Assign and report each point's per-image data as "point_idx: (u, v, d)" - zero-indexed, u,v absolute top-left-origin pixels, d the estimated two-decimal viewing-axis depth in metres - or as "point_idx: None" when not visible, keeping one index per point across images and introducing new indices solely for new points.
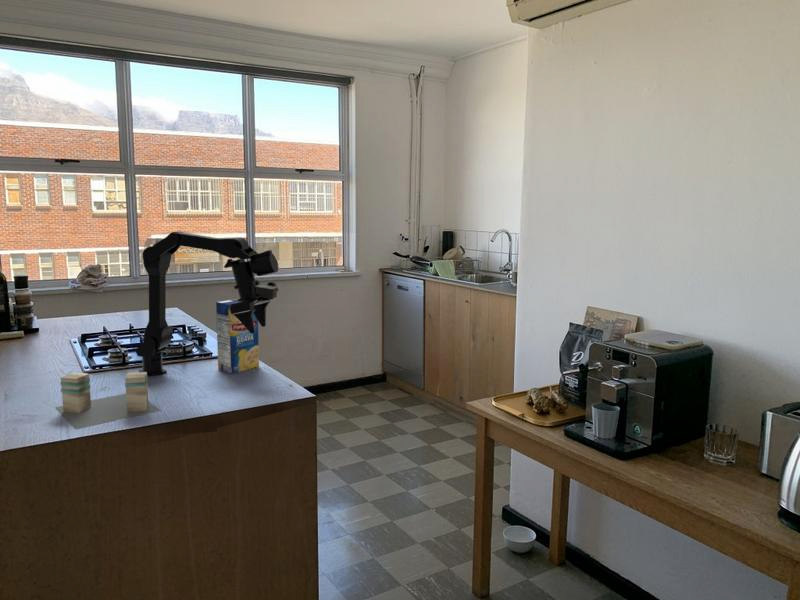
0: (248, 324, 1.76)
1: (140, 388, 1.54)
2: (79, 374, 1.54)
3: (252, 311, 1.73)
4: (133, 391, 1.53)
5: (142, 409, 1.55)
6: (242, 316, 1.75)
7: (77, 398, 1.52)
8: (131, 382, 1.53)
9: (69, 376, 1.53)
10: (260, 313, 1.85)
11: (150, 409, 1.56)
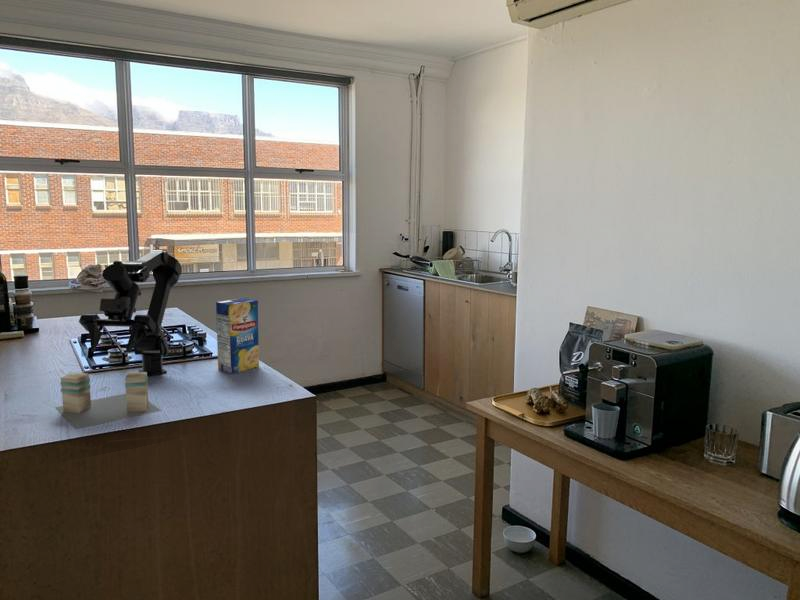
0: None
1: (140, 388, 1.54)
2: (79, 374, 1.54)
3: (85, 324, 1.61)
4: (133, 391, 1.53)
5: (142, 409, 1.55)
6: None
7: (77, 398, 1.52)
8: (131, 382, 1.53)
9: (69, 376, 1.53)
10: None
11: (150, 409, 1.56)
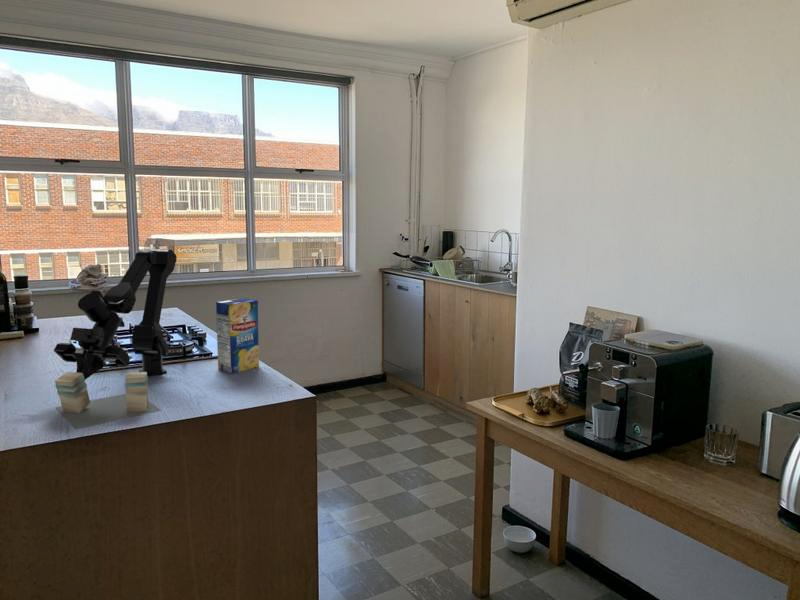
0: None
1: (140, 388, 1.54)
2: (73, 375, 1.52)
3: (73, 354, 1.57)
4: (133, 391, 1.53)
5: (142, 409, 1.55)
6: None
7: (75, 400, 1.51)
8: (131, 382, 1.53)
9: (63, 378, 1.51)
10: None
11: (150, 409, 1.56)
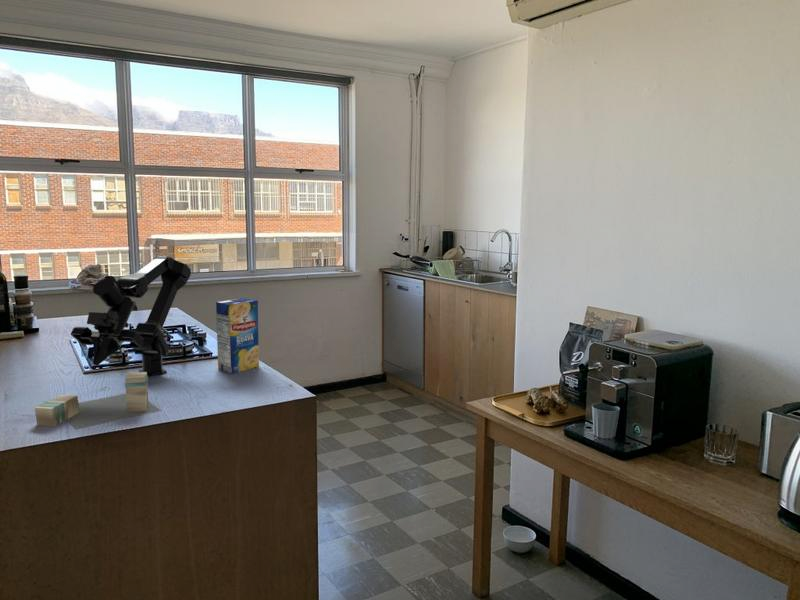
0: None
1: (140, 388, 1.54)
2: (46, 413, 1.43)
3: (89, 337, 1.63)
4: (133, 391, 1.53)
5: (142, 409, 1.55)
6: None
7: None
8: (131, 382, 1.53)
9: (41, 421, 1.44)
10: None
11: (150, 409, 1.56)
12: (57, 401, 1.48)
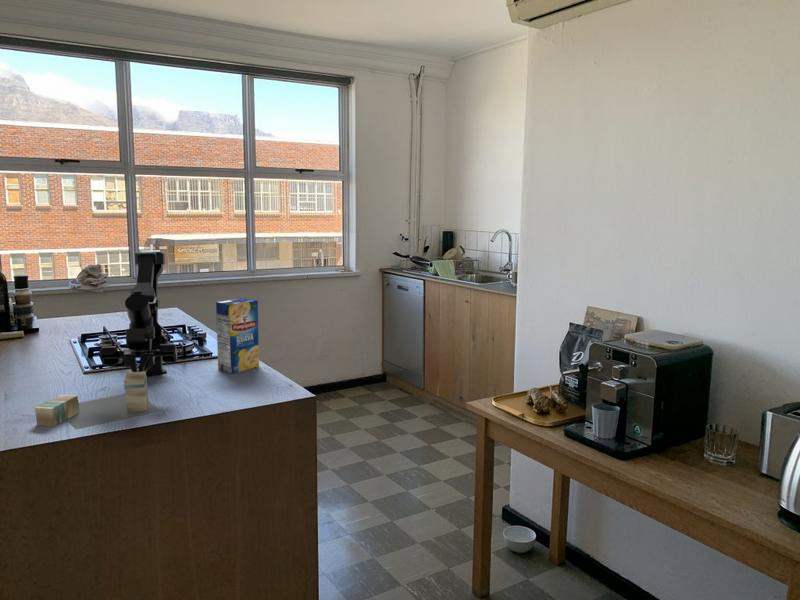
0: None
1: (139, 390, 1.53)
2: (46, 413, 1.43)
3: (125, 355, 1.57)
4: (132, 393, 1.52)
5: (142, 409, 1.55)
6: None
7: None
8: (130, 384, 1.52)
9: (41, 421, 1.44)
10: None
11: (150, 409, 1.56)
12: (57, 401, 1.48)
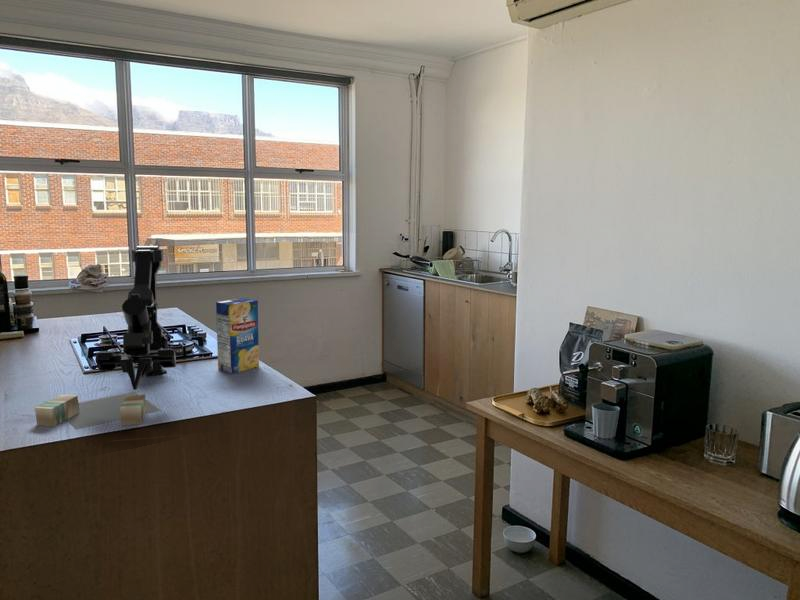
0: None
1: None
2: (46, 413, 1.43)
3: (122, 361, 1.53)
4: None
5: None
6: None
7: None
8: None
9: (41, 421, 1.44)
10: None
11: (150, 409, 1.56)
12: (57, 401, 1.48)
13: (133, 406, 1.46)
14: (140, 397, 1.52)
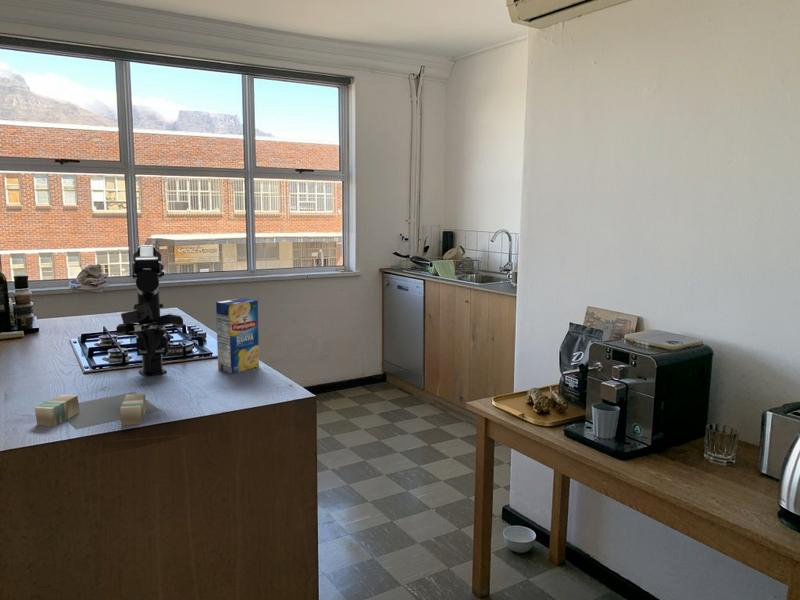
0: None
1: None
2: (46, 413, 1.43)
3: (134, 333, 1.66)
4: None
5: None
6: None
7: None
8: None
9: (41, 421, 1.44)
10: None
11: (150, 409, 1.56)
12: (57, 401, 1.48)
13: (133, 406, 1.46)
14: (140, 397, 1.52)
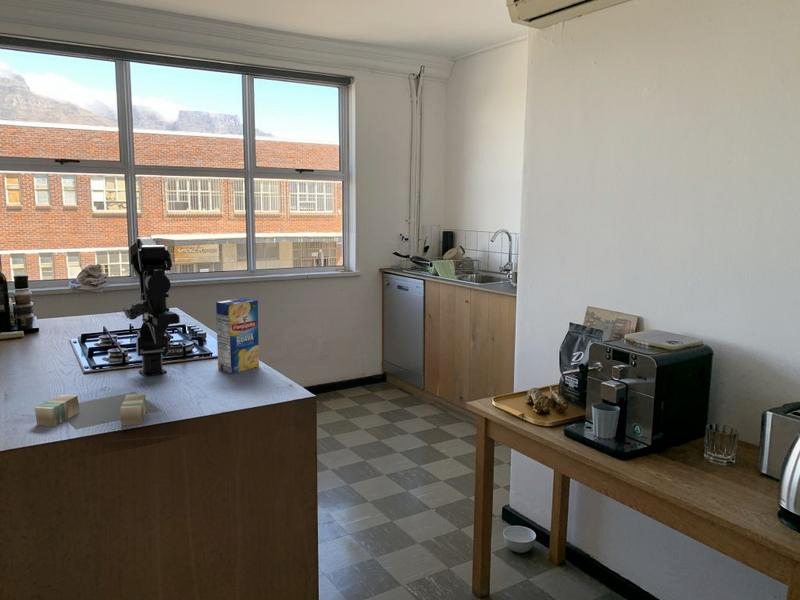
0: None
1: None
2: (46, 413, 1.43)
3: (142, 320, 1.71)
4: None
5: None
6: None
7: None
8: None
9: (41, 421, 1.44)
10: None
11: (150, 409, 1.56)
12: (57, 401, 1.48)
13: (133, 406, 1.46)
14: (140, 397, 1.52)
